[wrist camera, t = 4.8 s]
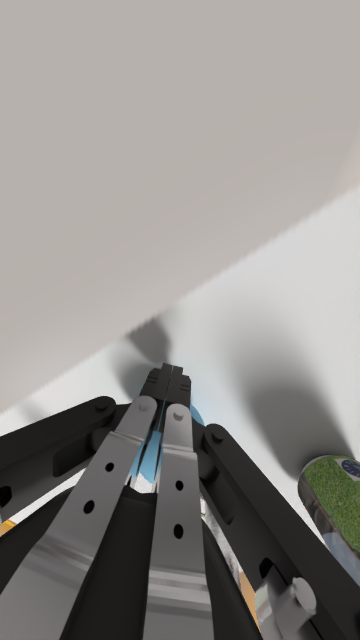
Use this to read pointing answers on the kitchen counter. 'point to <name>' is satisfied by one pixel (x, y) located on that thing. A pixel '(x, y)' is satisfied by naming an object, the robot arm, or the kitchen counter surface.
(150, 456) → the ball
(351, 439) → the kitchen counter surface
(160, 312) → the kitchen counter surface
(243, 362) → the kitchen counter surface
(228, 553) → the post
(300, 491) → the beverage can
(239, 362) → the kitchen counter surface
